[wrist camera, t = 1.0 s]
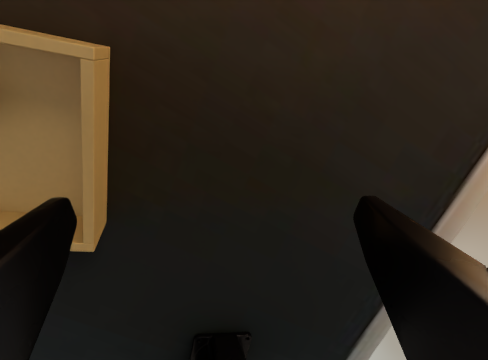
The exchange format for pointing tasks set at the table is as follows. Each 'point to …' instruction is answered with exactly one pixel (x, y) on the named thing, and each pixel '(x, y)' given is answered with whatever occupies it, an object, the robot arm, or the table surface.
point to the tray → (54, 128)
